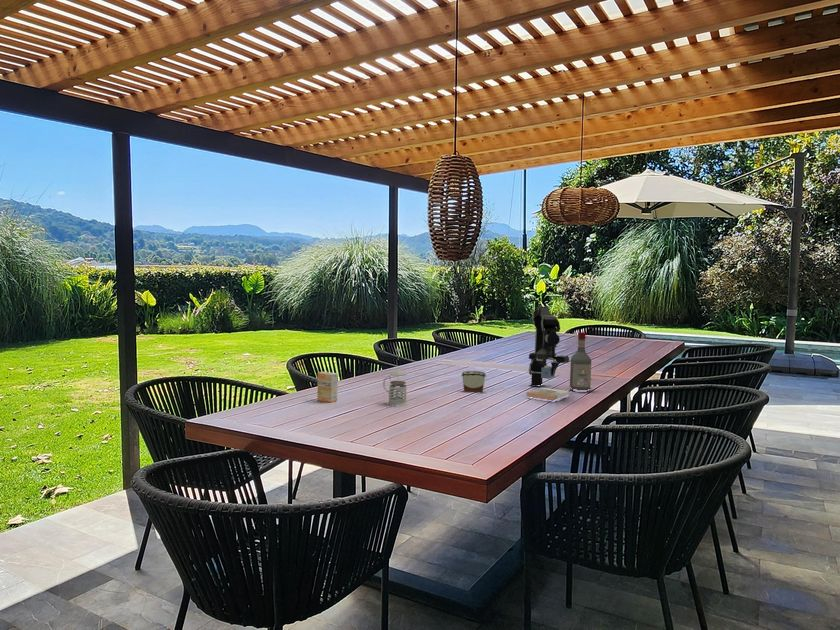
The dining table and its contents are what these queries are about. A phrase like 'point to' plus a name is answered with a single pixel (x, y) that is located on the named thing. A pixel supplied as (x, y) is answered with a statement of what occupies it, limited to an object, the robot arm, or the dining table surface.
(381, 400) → the dining table surface
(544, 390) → the chassis plate
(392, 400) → the french press
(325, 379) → the supplement box
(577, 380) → the liquor
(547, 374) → the block
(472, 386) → the food container
